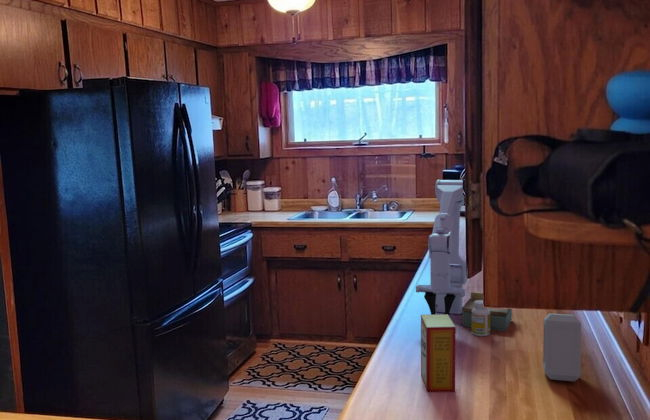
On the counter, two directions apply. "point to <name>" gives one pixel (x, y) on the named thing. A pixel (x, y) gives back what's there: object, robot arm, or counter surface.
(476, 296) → the lid
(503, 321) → the teal shallow tray
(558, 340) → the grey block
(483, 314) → the supplement bottle
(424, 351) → the baking soda box
